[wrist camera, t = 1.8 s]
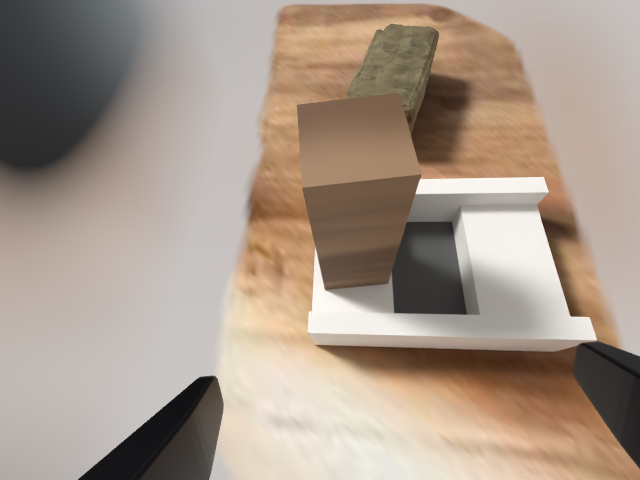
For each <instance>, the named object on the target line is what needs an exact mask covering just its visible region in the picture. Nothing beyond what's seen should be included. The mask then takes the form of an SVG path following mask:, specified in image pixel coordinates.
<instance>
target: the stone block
mask: <svg viewBox="0 0 640 480" xmlns="http://www.w3.org/2000/svg"><path fill="white" fill-rule="evenodd" d="M438 37H439V33H438V31H437V30H436V29H434V28H432V27H417V26H403V25H396V24H390V25H389V26H387V27H386V28H385V29H384V31H382V30H376V33H375V35H374V38H373V40H372V42H371V44H370V46H369V48H368V50H367V52H366V54H365V57H364V59H363V61H362V63H361V65H360V68H359V70H358V72H357V73H356V75H355V76H354V78H353V80H352V82H351V85H350V89H349V91H348V93H347V95H346V99H350V98H358V97H366V96H375V95H383V94H391V93H399V94H400V98H401V101H402V105H403V109H404V112H405V116H406V120H407V123H408V127H409V131H410V134H411V135H412V132H413V129H414V125H415V122H416V118H417V114H418V112H419V110H420V108H421V105H422V102H423V99H424V95H425V90H426V86H427V83H428V79H429V76H430V71H431V66H432V62H433V58H434V54H435V50H436V46H437V42H438Z"/></svg>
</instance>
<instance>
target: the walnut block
mask: <svg viewBox="0 0 640 480" xmlns="http://www.w3.org/2000/svg"><path fill="white" fill-rule="evenodd" d="M297 110H298V126H299V142H300V158H301V174H302V188H303V193H304V197H305V202H306V207H307V211H308V216H309V220H310V225H311V229H312V234H313V238H314V243H315V247H316V252H317V256H318V261H319V265H320V270H321V275H322V279H323V284H324V288H325V290H331V289H341V288H351V287H361V286H371V285H381V284H388V282H389V279H390V275H391V272H392V269H393V266H394V262H395V259H396V256H397V253H398V249H399V246H400V243H401V239H402V236H403V233H404V230H405V226H406V223H407V220H408V217H409V213H410V210H411V207H412V203H413V200H414V197H415V194H416V190H417V187H418V184H419V181H420V177H421V171H420V167H419V164H418V160H417V156H416V153H415V149H414V145H413V142H412V138H411V134H410V131H409V127H408V123H407V120H406V116H405V112H404V109H403V105H402V101H401V98H400V94H399V93H391V94H383V95H375V96H366V97H358V98H350V99H342V100H334V101H326V102H317V103H309V104H301V105H297Z"/></svg>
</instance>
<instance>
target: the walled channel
mask: <svg viewBox="0 0 640 480" xmlns="http://www.w3.org/2000/svg"><path fill="white" fill-rule="evenodd" d="M547 193H548V189H547V186H546V183H545V180H544V177H526V178H468V179H420V181H419V184H418V187H417V190H416V194H415V197H414V200H413V203H412V207H411V210H410V213H409V217H408V220H407V223H406V226H405V230H404V233H403V236H402V239H401V243H400V246H399V249H398V253H397V256H396V259H395V262H394V266H393V269H392V272H391V275H390V279H389V282H388V284H381V285H371V286H361V287H351V288H341V289H331V290H325V288H324V284H323V279H322V275H321V270H320V265H319V261H318V256H317V252H316V247H315V264H314V284H313V303H312V312H309V320H308V334H309V336H310V338H311V339H312V341H313V343H314V345H335V346H370V347H404V348H439V349H474V350H508V351H543V352H555V351H559V350H563V349H567V348H570V347H574V346H578V345H579V344H580V343H582V342H593V341H597V339H596V336H595V333H594V329H593V326H592V323H591V320H590V317H570V314H569V310H568V307H567V304H566V300H565V297H564V294H563V290H562V287H561V284H560V280H559V277H558V274H557V271H556V267H555V264H554V261H553V257H552V254H551V251H550V247H549V244H548V241H547V237H546V234H545V231H544V227H543V224H542V221H541V217H540V214H539V211H538V208H537V204H538V203H539V202H540V201H541V200H542V199H543V198H544V197H545V196H546V195H547Z"/></svg>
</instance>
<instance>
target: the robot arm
mask: <svg viewBox="0 0 640 480" xmlns="http://www.w3.org/2000/svg"><path fill="white" fill-rule="evenodd" d="M573 372H574V376H575V379H576V381H577V383H578V384H579V385H580V387H581V388H582V390H583V391H584V393H585V394H586V396H587V397H588V399H589V400H590V402H591V403H592V404H593V406H594V407H595V409H596V410H597V412H598V413H599V415H600V416H601V418H602V419H603V421H604V422H605V424H606V425H607V426H608V428H609V429H610V431H611V432H612V434H613V435H614V436H615V438H616V439H617V441H618V442H619V443H620V445H621V446H622V447H623V449H624V450H625V451H626V452H627V454H628V455H629V456H630V457H631V459H632V460H633V461H634V462H635V464H636V465H637V466H638V467H639V469H640V356H637V355H634V354H632V353H629V352H626V351H624V350H621V349H618V348H615V347H613V346H610V345H607V344H605V343H602V342H598V341H593V342H582V343H580V344H579V345H578V346H577V349H576V356H575V362H574V369H573ZM223 407H224V404H223V398H222V394H221V390H220V386H219V382H218V379H217V378H216V377H215V376H203V377H199V378H198V379H196V380H195V381H194V382H193V383H192V384H190V385H189V386H188V387H187V388H186V389H185V390H183V391H182V392H181V393H180V394H179V395H177V396H176V397H175V398H174V399H173V400H172V401H170V402H169V403H168V404H167V405H166V406H164V407H163V408H162V409H161V410H160V411H158V412H157V413H156V414H155V415H154V416H153V417H151V418H150V419H149V420H148V421H147V422H145V423H144V424H143V425H142V426H141V427H140V428H138V429H137V430H136V431H135V432H134V433H132V435H130V436H129V437H128V438H127V439H125V440H124V441H123V442H122V443H121V444H119V445H118V446H117V447H116V448H115V449H113V450H112V451H111V452H110V453H109V454H108V455H106V456H105V457H104V458H103V459H102V460H100V461H99V462H98V463H97V464H96V465H95V466H93V467H92V468H91V469H90V470H89V471H87V472H86V473H85V474H84V475H83V476H81V477H80V478H79V479H78V480H209V478H210V474H211V470H212V465H213V460H214V455H215V450H216V445H217V440H218V435H219V430H220V425H221V419H222V414H223Z"/></svg>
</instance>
